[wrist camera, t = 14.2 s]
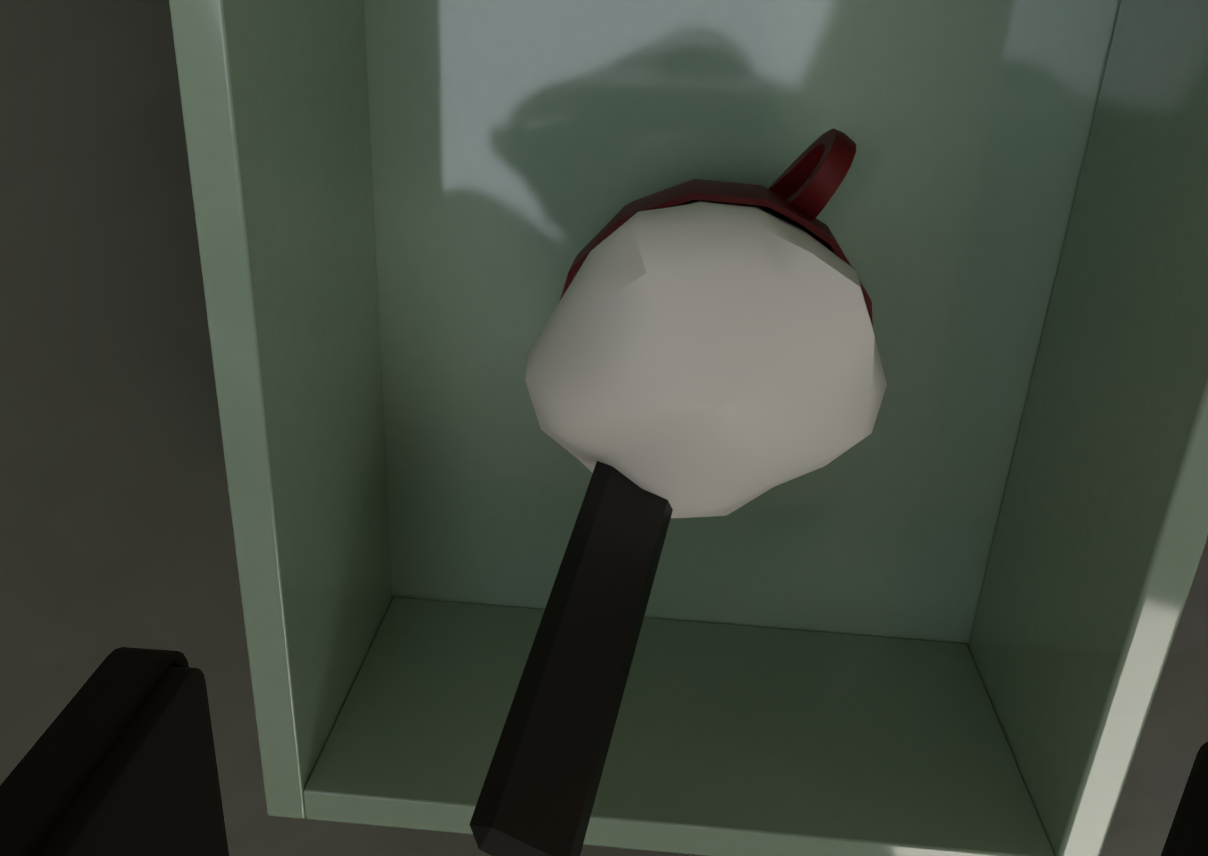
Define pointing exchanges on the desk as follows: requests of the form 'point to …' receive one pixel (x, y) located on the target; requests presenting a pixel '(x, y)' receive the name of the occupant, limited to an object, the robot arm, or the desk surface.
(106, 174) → the desk surface
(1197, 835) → the robot arm
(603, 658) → the cocoa
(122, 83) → the desk surface
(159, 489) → the desk surface
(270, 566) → the green open box
